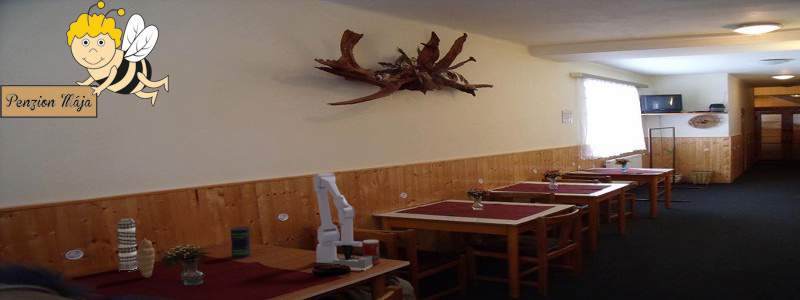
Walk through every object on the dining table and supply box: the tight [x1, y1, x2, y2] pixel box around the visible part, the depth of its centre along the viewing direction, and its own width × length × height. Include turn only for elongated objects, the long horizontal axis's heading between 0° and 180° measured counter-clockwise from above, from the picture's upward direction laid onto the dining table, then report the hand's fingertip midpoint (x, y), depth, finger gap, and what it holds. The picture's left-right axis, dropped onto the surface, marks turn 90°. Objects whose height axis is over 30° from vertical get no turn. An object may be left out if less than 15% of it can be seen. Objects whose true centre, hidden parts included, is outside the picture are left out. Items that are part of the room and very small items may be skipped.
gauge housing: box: [332, 255, 374, 271], centre depth 280 cm, size 17×10×5 cm, turn 71°
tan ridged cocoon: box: [136, 237, 156, 279], centre depth 272 cm, size 9×8×18 cm
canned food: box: [362, 239, 380, 266], centre depth 288 cm, size 8×8×11 cm
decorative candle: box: [116, 217, 139, 271], centre depth 290 cm, size 9×9×25 cm
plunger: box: [348, 255, 359, 261], centre depth 279 cm, size 4×7×4 cm
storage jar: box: [230, 226, 251, 259], centre depth 315 cm, size 10×10×15 cm
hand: (347, 261), depth 281 cm, fingers closed
